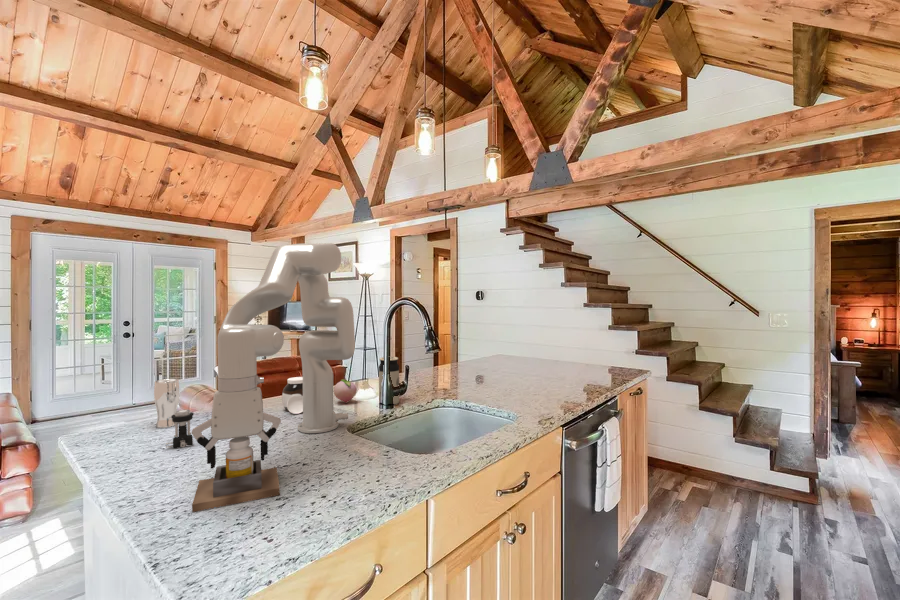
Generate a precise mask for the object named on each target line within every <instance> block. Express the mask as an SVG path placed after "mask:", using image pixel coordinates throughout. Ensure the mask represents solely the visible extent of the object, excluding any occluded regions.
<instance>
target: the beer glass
mask: <svg viewBox="0 0 900 600" xmlns="http://www.w3.org/2000/svg"><path fill="white" fill-rule="evenodd" d="M153 388H154V390H153V397H154V398H153V399H154V405H155V409H156V415H157V419H156V424H155V427H156V428H157V429H169V428H173V427H175V422H173V421H172V418H171V416H172V415H174V414H175V412H176V411H178V407H179V400H180V382H179V379H178V378H164V379H159V380H155V381H154V387H153ZM168 417H169V418H168ZM172 426H173V427H172Z"/></svg>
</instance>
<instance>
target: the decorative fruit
mask: <svg viewBox="0 0 900 600" xmlns="http://www.w3.org/2000/svg"><path fill="white" fill-rule="evenodd" d="M356 393H357V386H356V384H355V383H354V382H353V381H349V380H347V378H346V377H345V378H343V379H340V381H338V382H337V383H336V384H335V385H334V386H333V396H335V398H336V399H338V400H339V401H341V402H343V403H344V404H347V403H348V402H350V401H351V400H352V399H353V398H354V397H355V396H356Z"/></svg>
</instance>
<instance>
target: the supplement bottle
mask: <svg viewBox="0 0 900 600" xmlns="http://www.w3.org/2000/svg"><path fill="white" fill-rule="evenodd" d="M250 441H251V440H250V436H246V437H239V438H231V439H229V442H228V444H229V446H228V447H229V449H228V450H227V451H226V453H225V465H226V479H228V478H234V477H239V476H245V475H251V474H254V473H253V461H254V449H253V448H252V446H250V444H251V442H250Z"/></svg>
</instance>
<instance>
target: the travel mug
mask: <svg viewBox="0 0 900 600" xmlns="http://www.w3.org/2000/svg"><path fill="white" fill-rule="evenodd" d="M384 357H385V356H384ZM384 357H380V358H379V361H380V364H379V366H378V400H379V401H380V388H381V382H382V379H383V376H382V375H383V365H384ZM389 357H390V375H391V376H390V377H391V380H392V384H393V386H394V387H396V386H398V385H399V386H400V366H399V363H398V360H399V357H397V356H389ZM379 401H378V402H379ZM393 401H394V405H397V404H399V403H400V394H399V395H398V396H394V398H393Z"/></svg>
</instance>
